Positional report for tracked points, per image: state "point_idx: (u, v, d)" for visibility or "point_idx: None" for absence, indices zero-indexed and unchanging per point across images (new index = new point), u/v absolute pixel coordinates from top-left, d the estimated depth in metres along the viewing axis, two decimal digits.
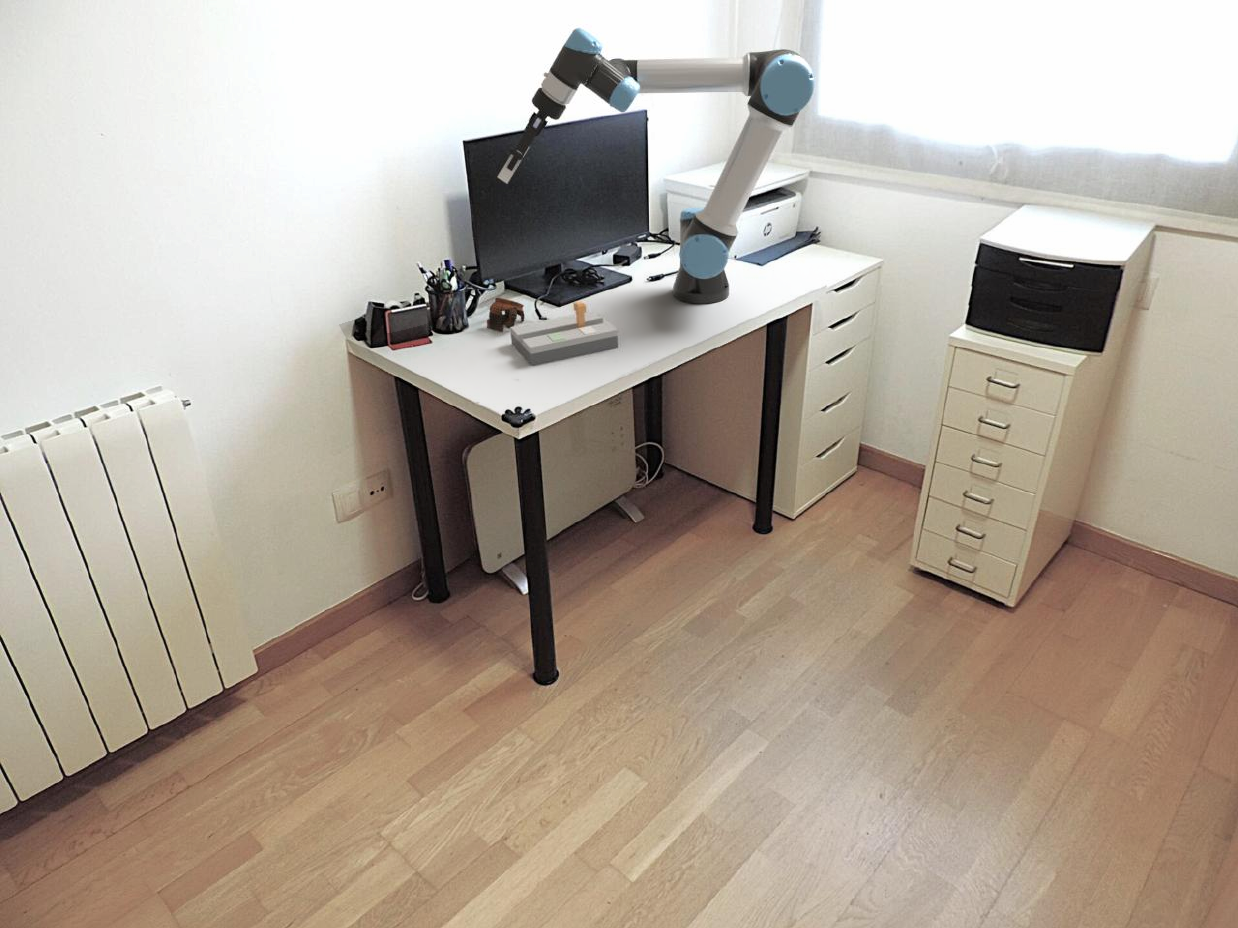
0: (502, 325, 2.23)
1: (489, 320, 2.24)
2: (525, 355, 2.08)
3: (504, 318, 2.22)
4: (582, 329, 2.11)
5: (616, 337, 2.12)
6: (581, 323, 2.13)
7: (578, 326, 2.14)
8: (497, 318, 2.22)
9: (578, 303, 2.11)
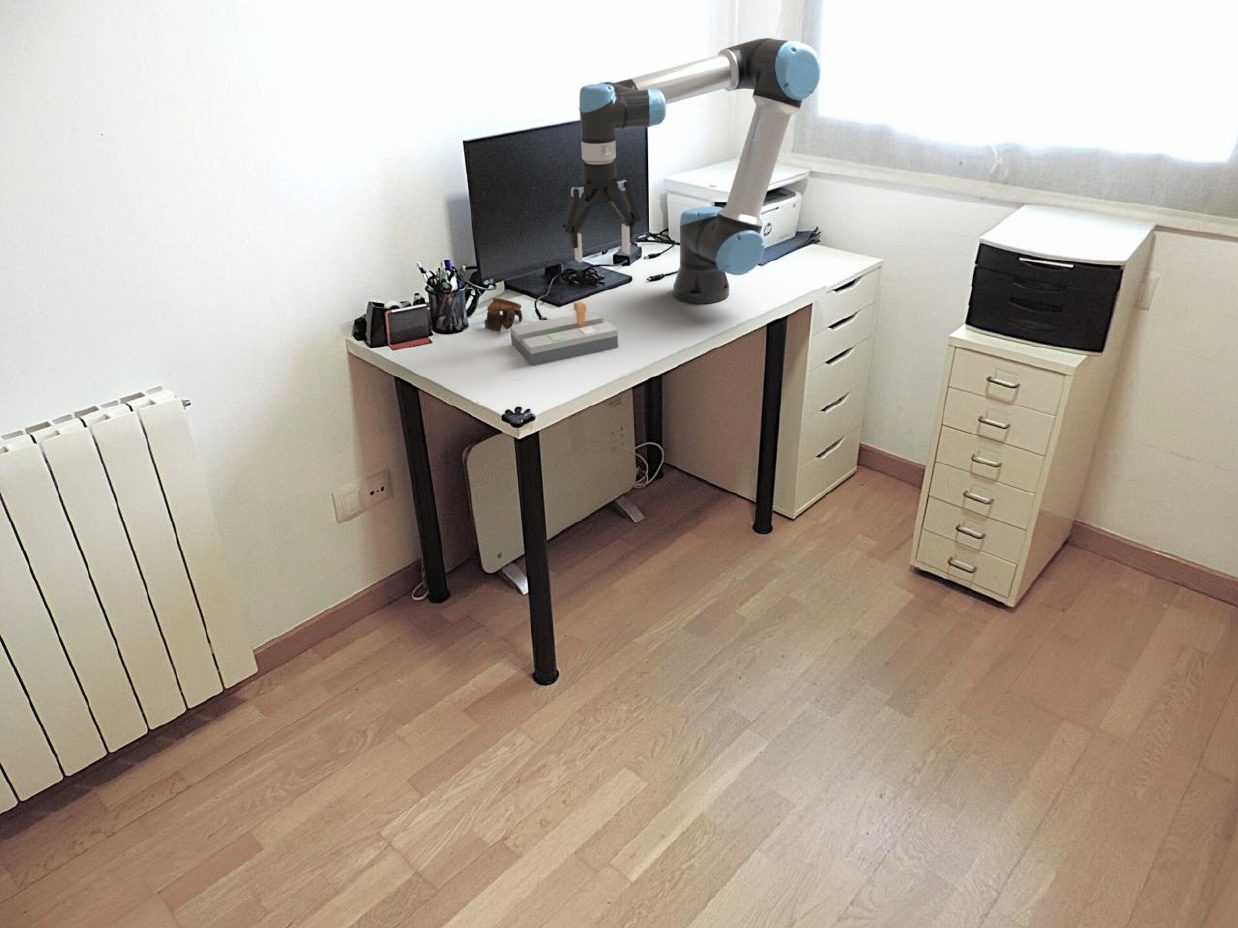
0: (500, 325, 2.23)
1: (487, 320, 2.24)
2: (525, 355, 2.08)
3: (502, 318, 2.22)
4: (582, 329, 2.11)
5: (616, 337, 2.12)
6: (581, 323, 2.13)
7: (578, 326, 2.14)
8: (495, 318, 2.22)
9: (578, 303, 2.11)
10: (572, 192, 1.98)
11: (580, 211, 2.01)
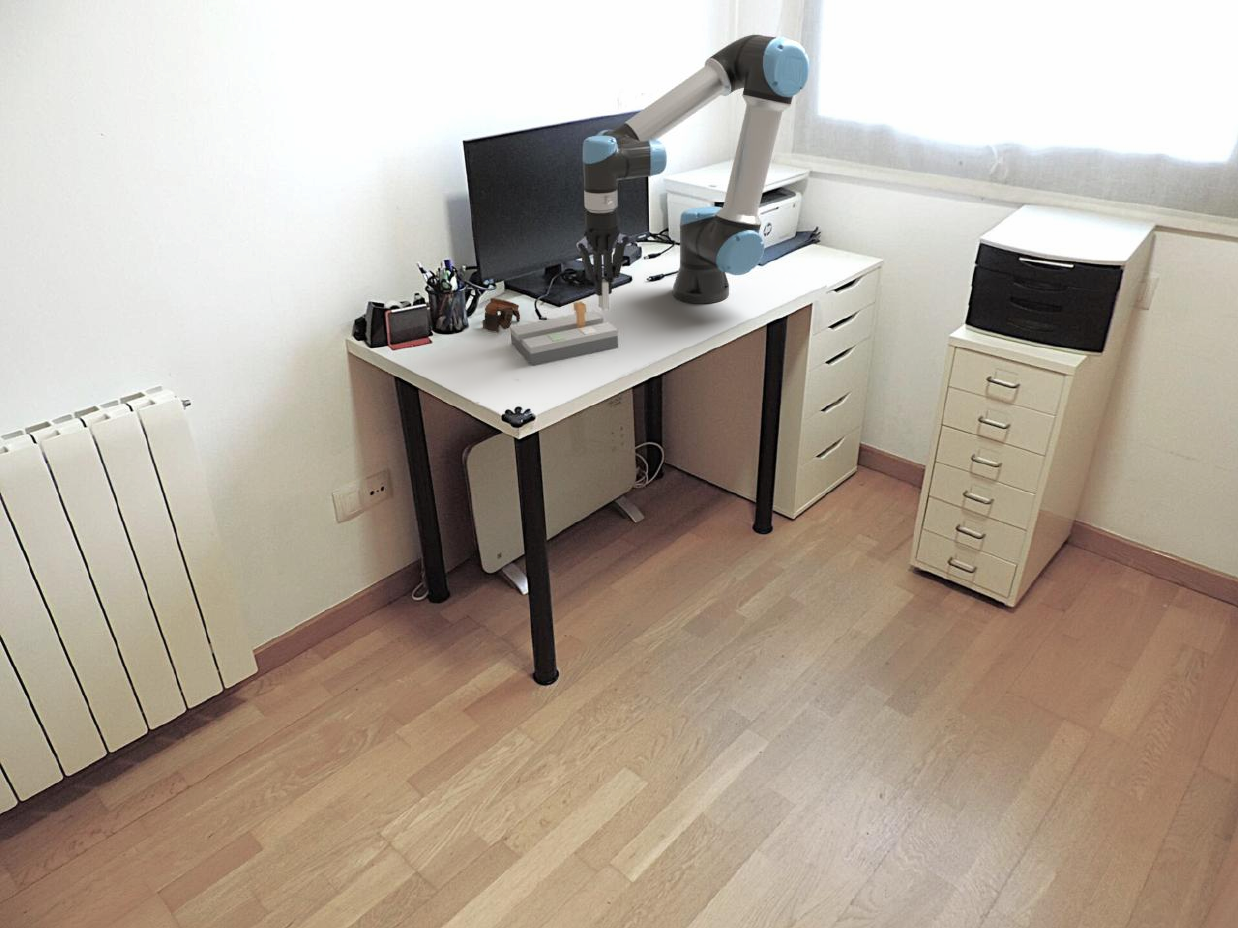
0: (498, 325, 2.22)
1: (485, 321, 2.24)
2: (525, 355, 2.08)
3: (500, 319, 2.22)
4: (582, 329, 2.11)
5: (616, 337, 2.12)
6: (581, 323, 2.13)
7: (578, 326, 2.14)
8: (493, 318, 2.22)
9: (578, 303, 2.11)
10: (578, 247, 2.05)
11: (594, 261, 2.08)
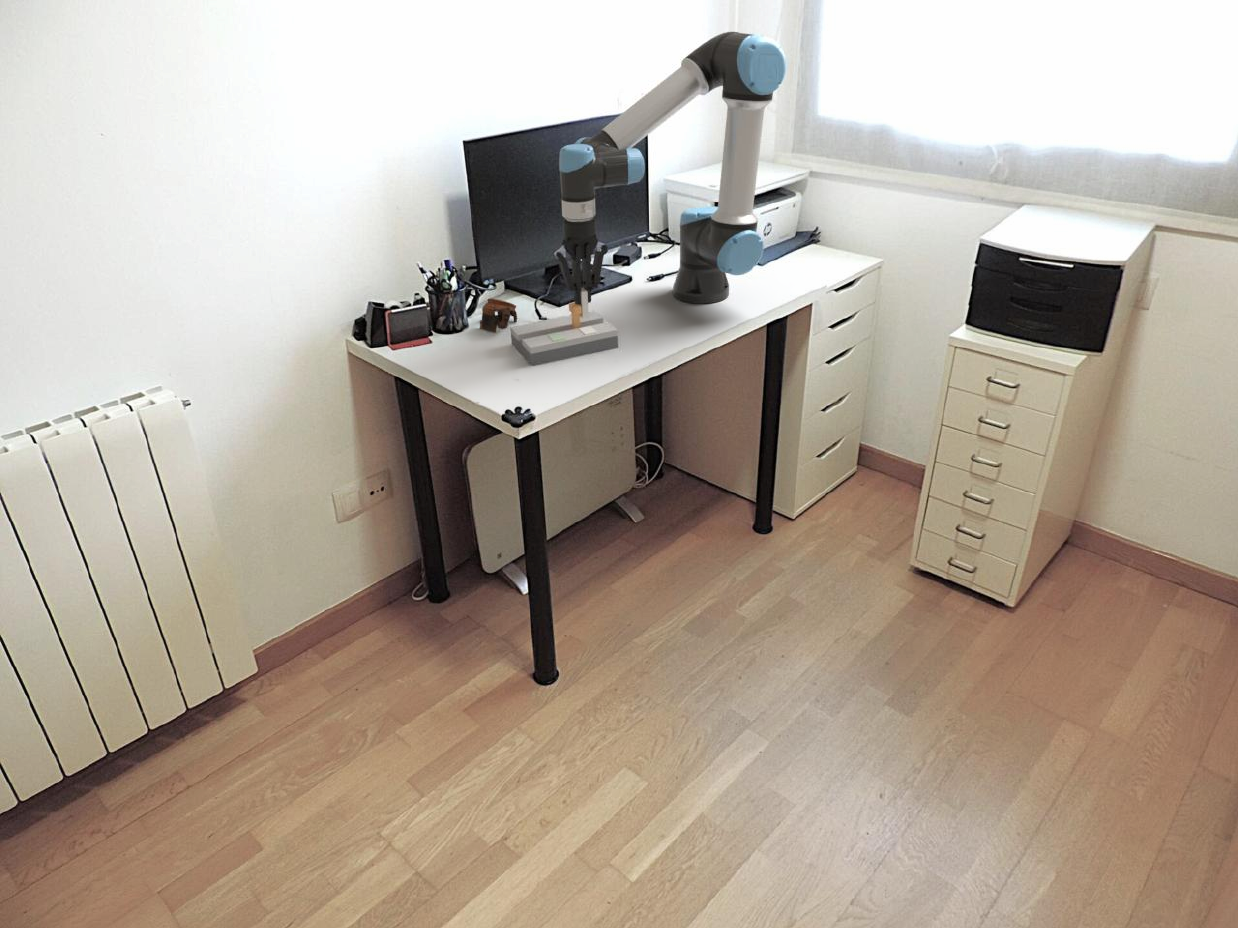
0: (495, 326, 2.22)
1: (482, 321, 2.24)
2: (525, 355, 2.08)
3: (497, 319, 2.22)
4: (582, 329, 2.11)
5: (616, 337, 2.12)
6: (576, 324, 2.13)
7: (573, 327, 2.13)
8: (490, 318, 2.22)
9: (573, 304, 2.11)
10: (556, 256, 2.03)
11: (573, 269, 2.07)
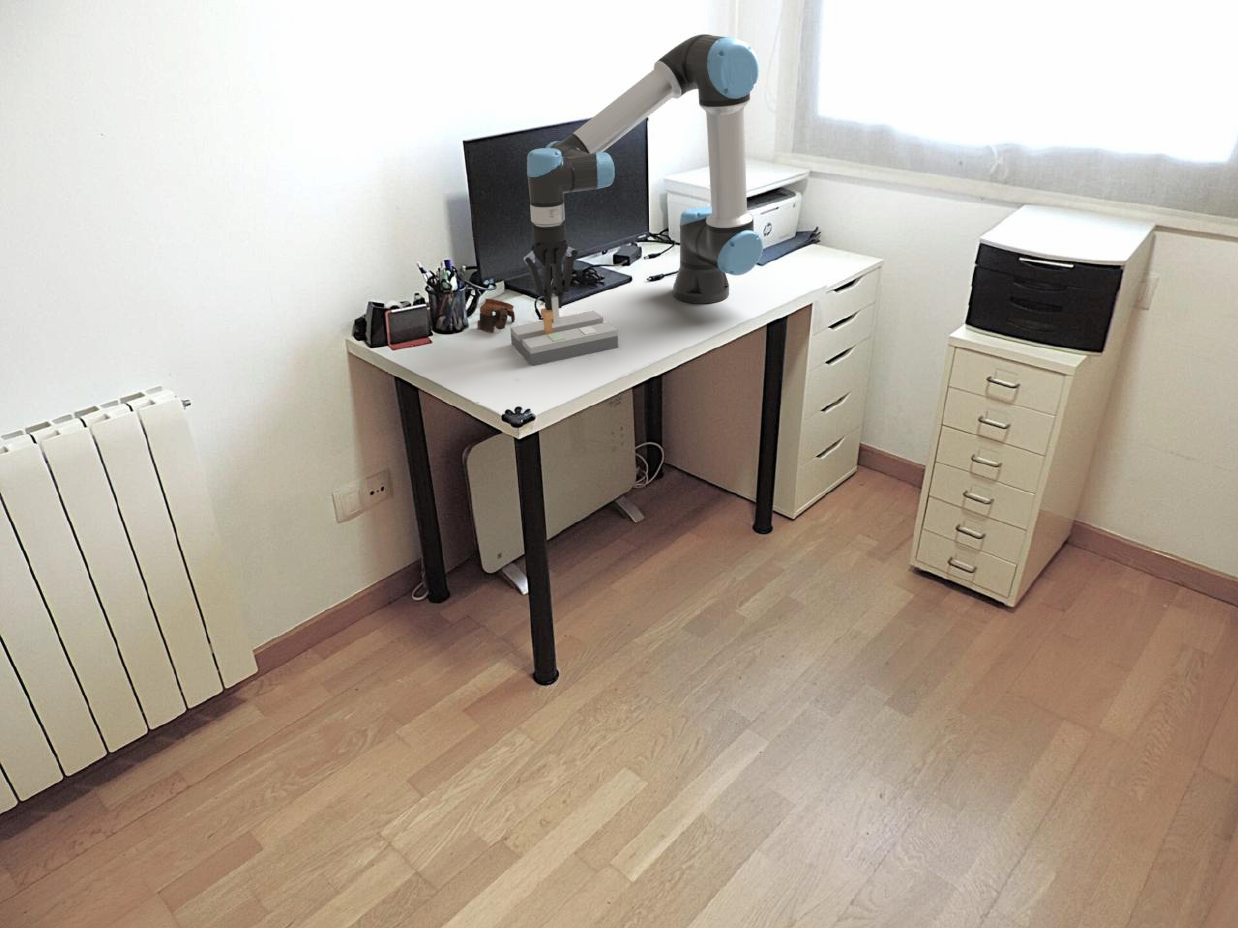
0: (493, 326, 2.22)
1: (480, 321, 2.24)
2: (525, 355, 2.08)
3: (495, 319, 2.22)
4: (582, 329, 2.11)
5: (616, 337, 2.12)
6: (548, 330, 2.10)
7: (545, 333, 2.11)
8: (488, 318, 2.22)
9: (545, 309, 2.08)
10: (525, 262, 2.01)
11: (543, 275, 2.04)
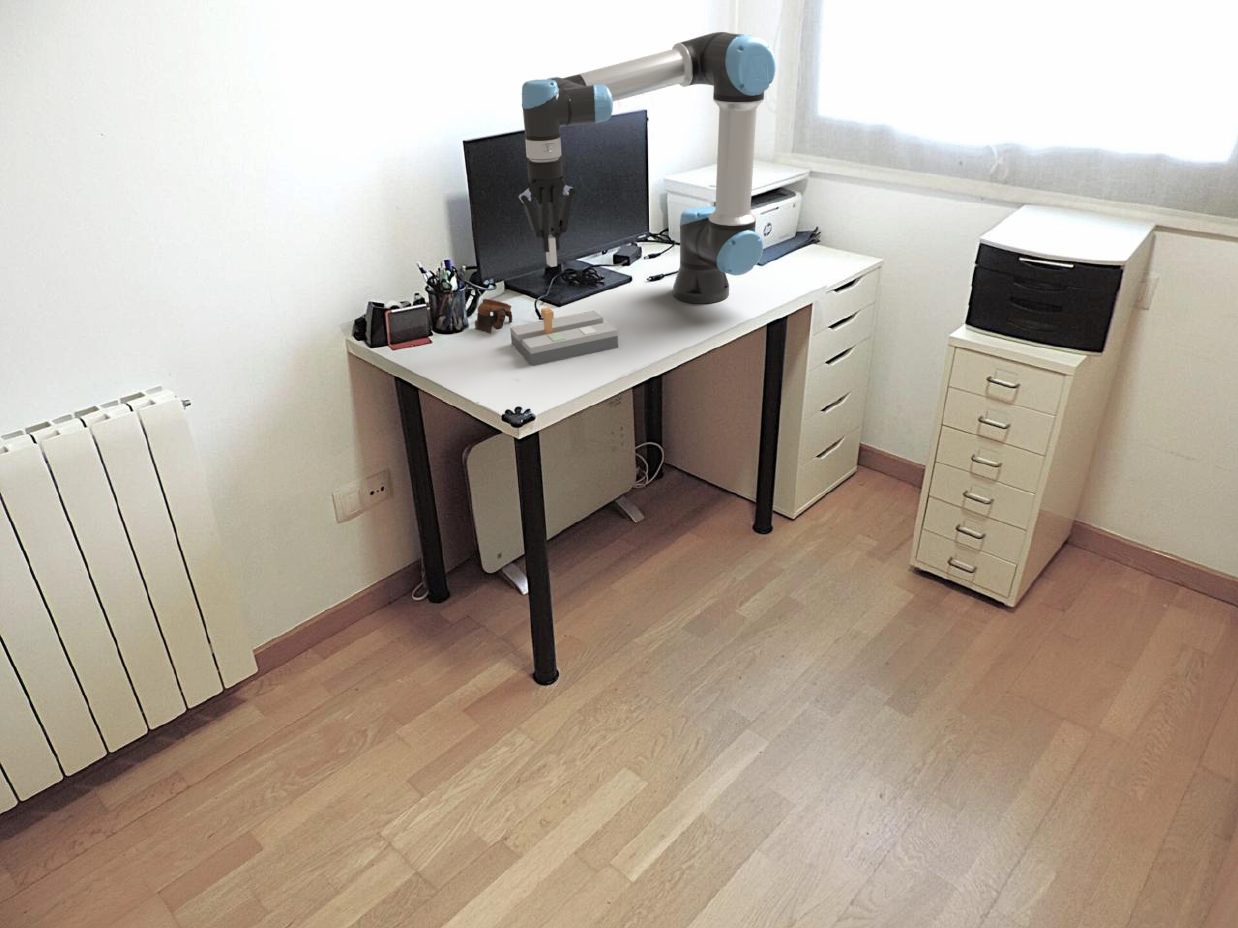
0: (490, 326, 2.22)
1: (477, 321, 2.23)
2: (525, 355, 2.08)
3: (492, 319, 2.22)
4: (582, 329, 2.11)
5: (616, 337, 2.12)
6: (548, 330, 2.10)
7: (546, 333, 2.11)
8: (486, 319, 2.22)
9: (545, 309, 2.08)
10: (521, 200, 1.94)
11: (539, 214, 1.97)
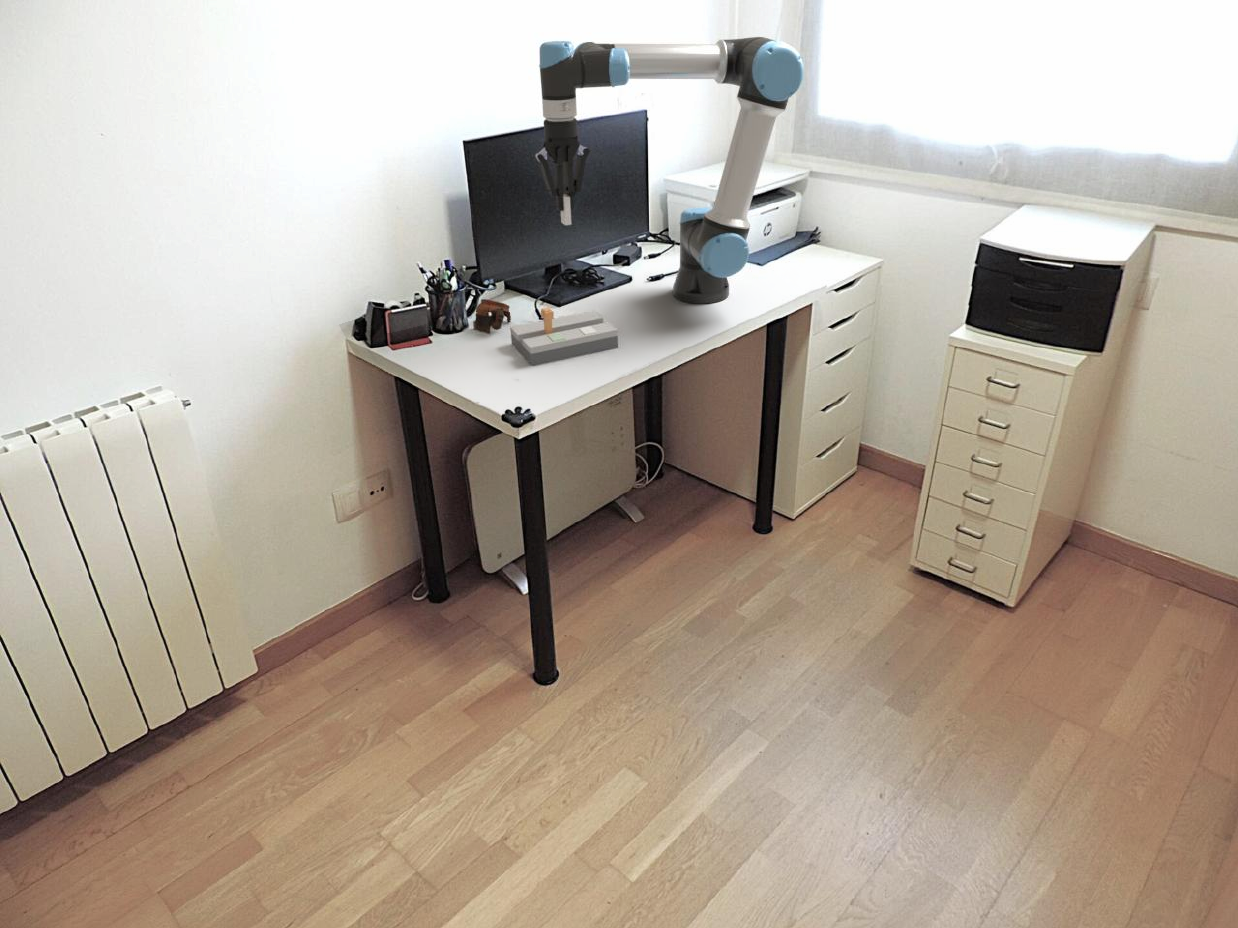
0: (489, 326, 2.22)
1: (476, 321, 2.23)
2: (525, 355, 2.08)
3: (491, 319, 2.22)
4: (582, 329, 2.11)
5: (616, 337, 2.12)
6: (548, 330, 2.10)
7: (546, 333, 2.11)
8: (484, 319, 2.22)
9: (545, 309, 2.08)
10: (537, 159, 2.01)
11: (555, 174, 2.04)
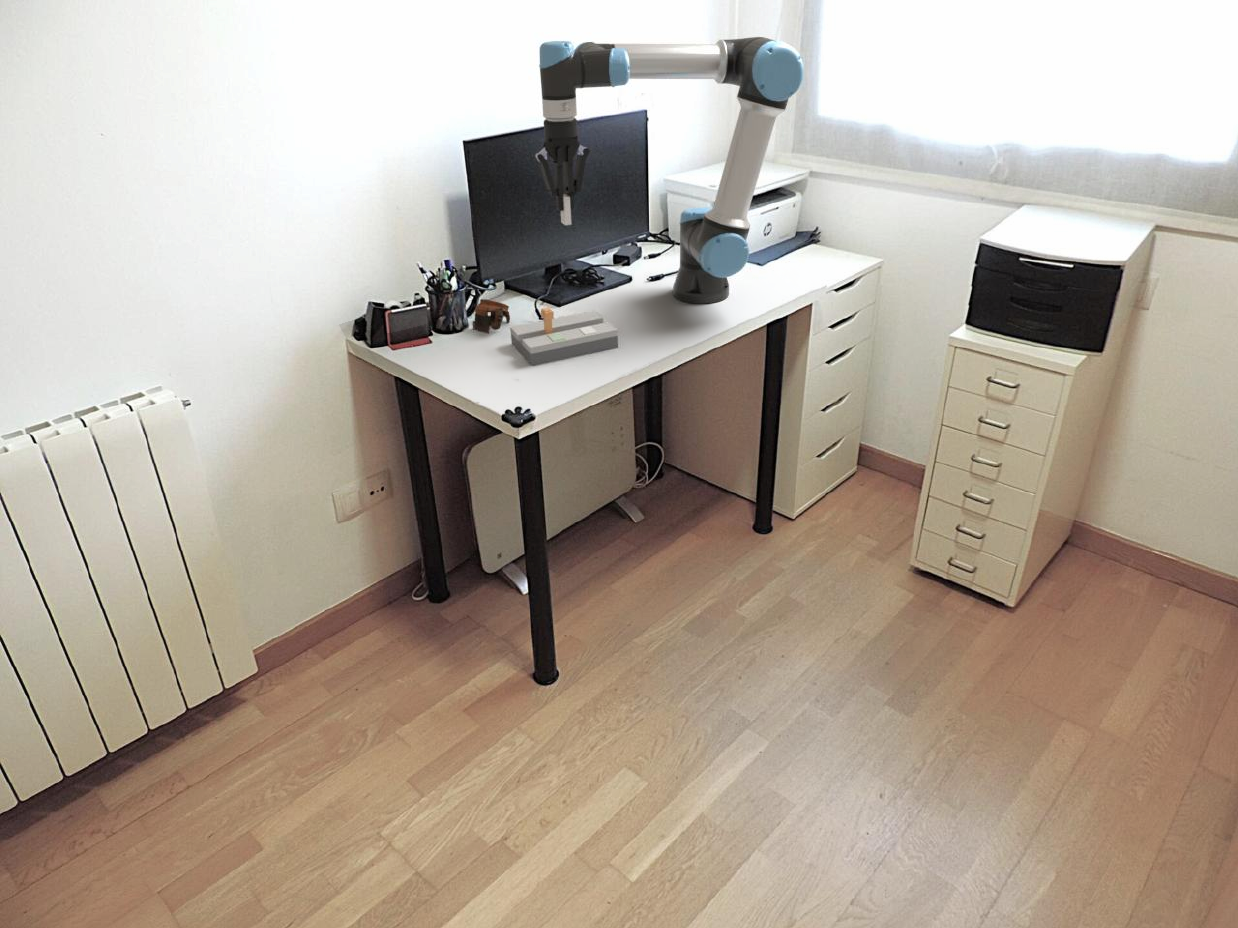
0: (488, 326, 2.22)
1: (475, 322, 2.23)
2: (525, 355, 2.08)
3: (490, 319, 2.22)
4: (582, 329, 2.11)
5: (616, 337, 2.12)
6: (548, 330, 2.10)
7: (546, 333, 2.11)
8: (483, 319, 2.22)
9: (545, 309, 2.08)
10: (537, 159, 2.01)
11: (555, 174, 2.04)
